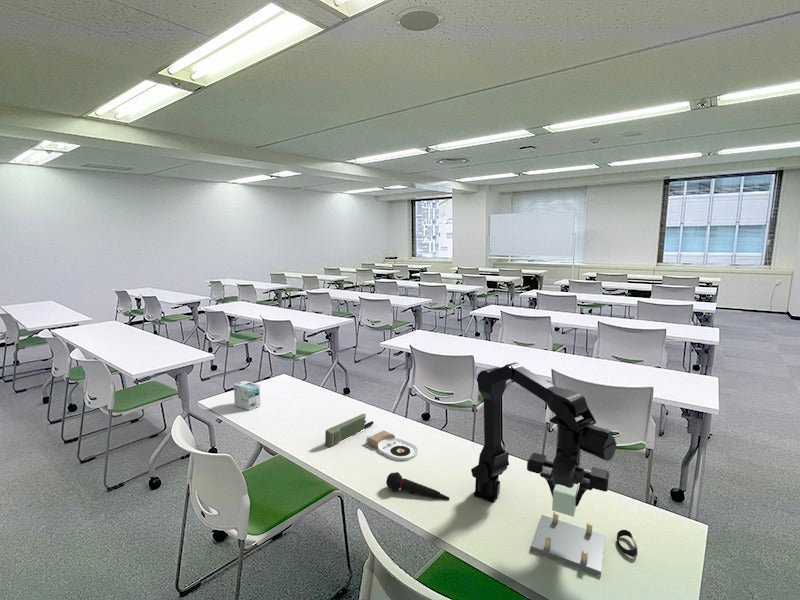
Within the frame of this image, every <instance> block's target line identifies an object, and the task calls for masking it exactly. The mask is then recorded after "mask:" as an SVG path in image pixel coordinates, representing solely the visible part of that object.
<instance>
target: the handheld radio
mask: <svg viewBox="0 0 800 600" xmlns="http://www.w3.org/2000/svg"><path fill="white" fill-rule="evenodd" d="M366 415H367V414H366V413H361V414H359V415H357V416H355V417H352V418H350V419H347V420H346V421H343V422H341V423H338V424H336V425H334V426H331V427H330V428H328V429H326V430H325V435H324V436H325V438H324V439H325V441H324V442H325V444H324V446H325V447H326V446H327V447H326V448H331V447H333V446H335V445H337V444H336V443H338V444H340V443H341V442H340V441H342V440H344V439H346V438H348V437H350V436H352V435H354V434H356V433H358V432H360V431H361V430H363V429H365V430H366V428H368V427H370V426H373V425H374V421H372V420H371V421H369V422H367V421H366ZM360 433H361V432H360ZM358 434H359V433H358ZM356 435H357V434H356ZM354 436H355V435H354ZM352 437H353V436H352ZM350 438H351V437H350ZM348 439H349V438H348ZM346 440H347V439H346ZM344 441H345V440H344ZM339 442H340V443H339ZM342 442H343V441H342ZM334 444H335V445H334ZM332 445H333V446H332Z"/></svg>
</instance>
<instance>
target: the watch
mask: <svg viewBox="0 0 800 600" xmlns="http://www.w3.org/2000/svg"><path fill="white" fill-rule="evenodd" d="M621 537H629V538H630V539H631V540H632V543H633V546H634V549H631V550H630V549H627V548H625V547H624V546H622V545H621V543H620V538H621ZM616 542H617V544H618V547H619V548H620V550H621V552H622V553H623V554H625V555H626V556H629V557H635V556H636V555H637V554H638V550H639V546H638V542H637V540H636V537H635V535H633V534H632V533H631V532H630V531H629V530H627V529H621V530H619V531H618V532H617V533H616Z"/></svg>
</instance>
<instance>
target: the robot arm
mask: <svg viewBox="0 0 800 600" xmlns="http://www.w3.org/2000/svg"><path fill="white" fill-rule="evenodd" d="M476 379H477V380H476V381H477V388H478V391H479V393H480V395H481V397H482V398H483V434H484V435H483V438H484V439H483V440H484V441H483V442H484V445H483V446H482V449H481V452H480V453H479V456H478V457H479V458H478V464H477V465H475V466H474V467H472V468H471V469H470V471H471V475H472V477H473V478H474V479H475V484H474V485H475V486H474V487H475V488H474V492H473V494H472V496H473V497H476V498H479V499H482V500H484V501H488V502H491V503H494V502H495V501H496V499H497V498H498V497H499V495H500V489H501V481H500V480H499V476H501V475H502V474H503V473H504V472H505V471H506V470H508V466H510V462H509V458H510V457H509V455H510V454H509V452H508V451H505V449H504V448H503V446H502V414H501V413H502V412H501V411H502V402H501V401H502V397H503V395H504V393H505V392H506V391H505V390H506V388H507V387H506V386H507V381H509V380H510V381H513V382H514V383H516V384H517V385H519V386H520V387H522V388H523V389H525V390H526V391H528V392H530V393H531V394H532V395H534V396H536V397H537V398H539V399H540V400H542V401H543V402H544V403H546V405H547V408H548V409H549V410H550V411H551V412H552V413H553V414H554V416H553V417H552V418H550V419H549V423H553V424H555V425H557V428H556V429H557V430H556V442H555V444H556V447H555V457H554V458H553V461H549V460H548V456H547V455H546V454H541V453H538V452H533V453H531V454H530V456H529V457H528V459H527V461H526V470H527V471H528V472H531V473H535V474H538V475H539V476H540V477H541V478H543V479H545V481H546V482H547V484H548V487H549V490H550V493H551V496H552V498H553V491H554V488H555V485H556V484H557V485H558V484H559V485H563V486H566V487H568V488H572V487H573V486H574V484H577V485H578V484H579V486H578V494H577V498H576V507H578V506H579V504H580V502H581V499H582V497H583V496H584V494H585V493H586V491H593V489H594V490H597V491H601V492H604V493H605V492H608V490H609V489H608V488H609V485H610V484H609V483H610V473H609V471H608V470H607V469H603V468H599V467H595V466H591V470H589V469H584V468H582V467H581V453H582V452H583V453H584V452H585V453H587V454H590V455H592V456H594V457H596V458H598V459H600V460H603V461H604V460H605V461H606V462H609V461H611V460H612V458H613V457H614V455H615V453H616V449H617V442H616V438H615V436H613V431H612V430H611V429H607V428H603V427H599V426H598V425H597V426H596V425H595V424H597V421H596V419H595V416H594V415H593V414H592V411H591V410H590V407H589V406H588V403H587V400H586V397H584V396H583V394H580V393H579V392H576V391H573V390H571V389H568V388H562V387H558V386H556V385H554V384H552V383H550V382H549V381H547V380H545V379H544V378H542V377H541V376H539V375H537V374H536V373H534V372H533V371H530V370H529V369H527V368H525V367H524V366H522V364H521V363H519V362H511V363H508V364H505V365H504V366H501V367H491V368H488V369H485V370H481V371H480V372H479V373H477V376H476ZM580 417H581V418H582V419H579V420H577V419H578V418H580Z"/></svg>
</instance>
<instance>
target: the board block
mask: <svg viewBox="0 0 800 600" xmlns="http://www.w3.org/2000/svg"><path fill="white" fill-rule="evenodd" d="M579 484H580V483H578V485H577V484H574V486H573V487H572V488H568V487H566V486H563V485H559V484H558V485H557V484H556V485H555V488H554V491H553V497H552V503H551V504H552V505H551V507H552V508H551V509H552V510H551V511H554V512H557V513H558V514H563V515H567V516H570V517H573V518H574V517H575V513H576V510H577V509H576V508H577V506H576V498H577V494H578V489H579Z"/></svg>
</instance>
